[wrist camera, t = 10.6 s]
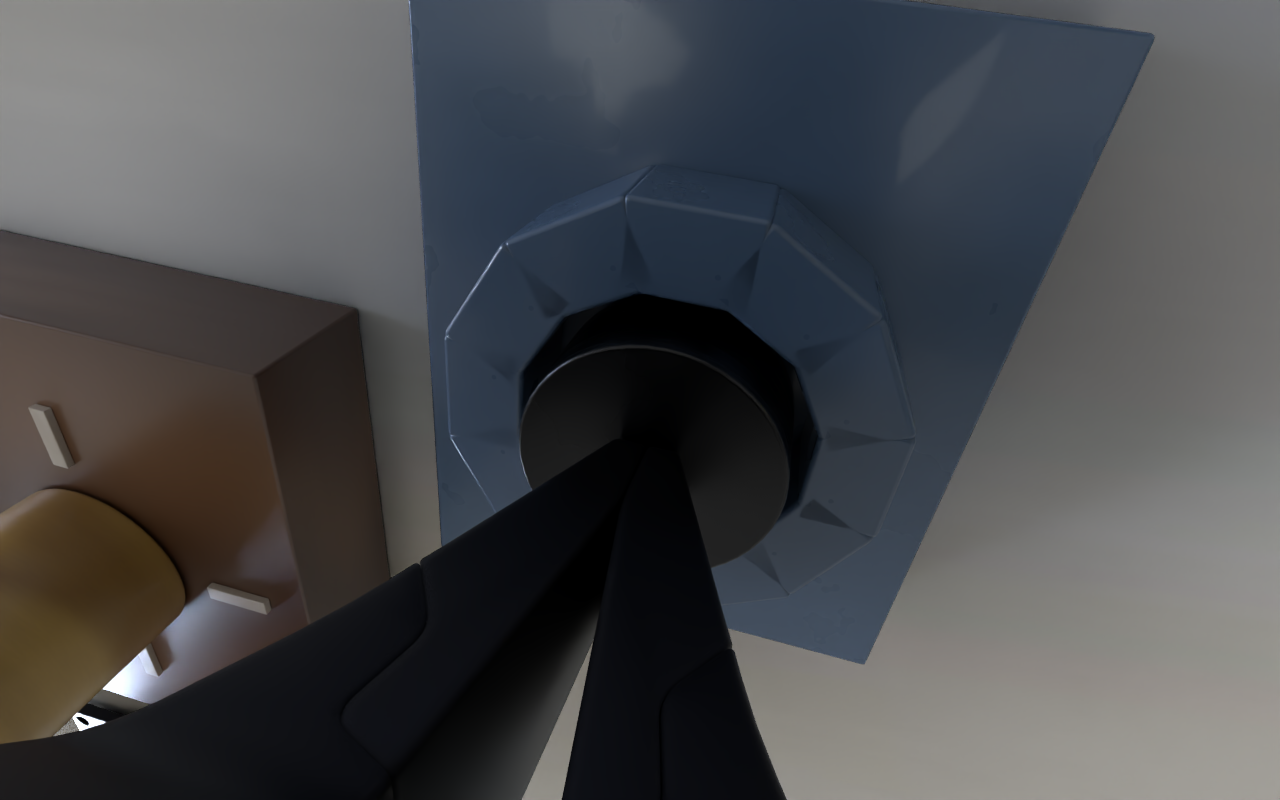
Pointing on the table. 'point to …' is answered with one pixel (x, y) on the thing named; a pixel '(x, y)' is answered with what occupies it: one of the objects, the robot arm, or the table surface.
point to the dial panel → (195, 440)
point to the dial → (73, 606)
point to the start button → (673, 410)
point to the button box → (756, 238)
